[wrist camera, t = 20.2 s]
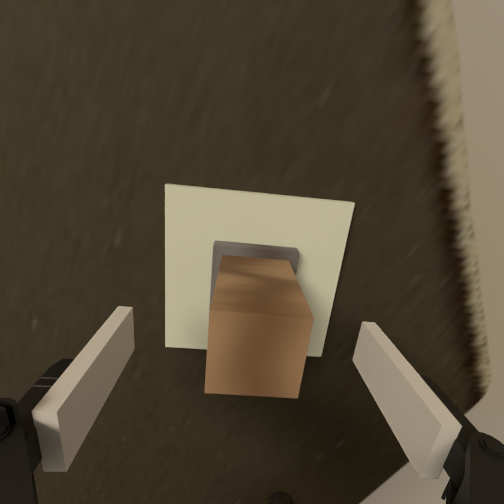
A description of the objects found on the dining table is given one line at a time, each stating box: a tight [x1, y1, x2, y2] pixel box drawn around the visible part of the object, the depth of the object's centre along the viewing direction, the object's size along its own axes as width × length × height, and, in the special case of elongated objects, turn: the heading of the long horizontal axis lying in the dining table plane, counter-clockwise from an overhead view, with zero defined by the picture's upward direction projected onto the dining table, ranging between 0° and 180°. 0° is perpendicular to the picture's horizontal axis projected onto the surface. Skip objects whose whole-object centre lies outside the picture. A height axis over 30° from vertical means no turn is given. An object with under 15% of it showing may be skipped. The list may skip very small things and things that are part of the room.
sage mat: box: [165, 184, 355, 357], centre depth 23 cm, size 14×14×1 cm
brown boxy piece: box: [205, 240, 314, 398], centre depth 18 cm, size 6×6×9 cm
